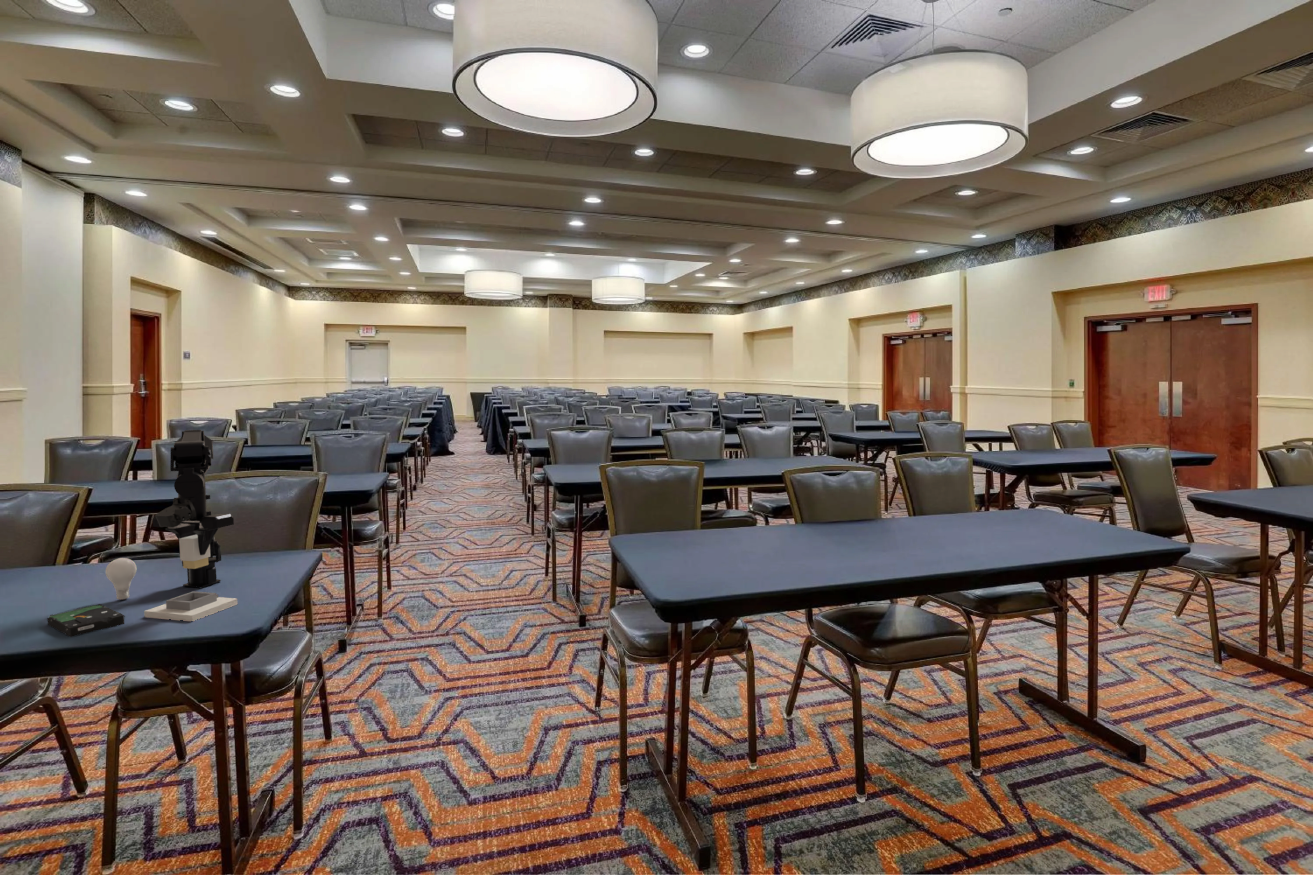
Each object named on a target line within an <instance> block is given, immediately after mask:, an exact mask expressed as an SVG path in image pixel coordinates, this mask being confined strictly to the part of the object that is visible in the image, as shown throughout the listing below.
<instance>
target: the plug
mask: <svg viewBox="0 0 1313 875" xmlns="http://www.w3.org/2000/svg"><path fill="white" fill-rule="evenodd" d="M178 542H179V559H180V560H179V561H181V562H182V561H183V566H182V568H183V569H187V568H189V569H196V568H199V567H203V566H206V565H209V563H208V557H211V556H210V545H209V547H208V549H207V551H206V553H205V555H200V552H199V545H198V535H192V536H188V537H184V538H179V540H178Z"/></svg>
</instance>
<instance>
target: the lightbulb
mask: <svg viewBox="0 0 1313 875" xmlns="http://www.w3.org/2000/svg"><path fill="white" fill-rule="evenodd" d="M137 567H138V566H137V565H136V563H135V562H134V560H132V559H130V558H127V557H119V558H116V559H114V560H112V561H111V562H109V563H108V564H107V565H106V567H105V576H106V579H108V580H109V581H110V582H111V583H112V585H113V587H114V590H115V593H116V598H115V599H116V600H119V601H125V600H127V599H129V598H130V586H131V585H132V584H131V583H132V580H133V579H134V577H136V574H137Z"/></svg>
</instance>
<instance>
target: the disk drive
mask: <svg viewBox="0 0 1313 875" xmlns="http://www.w3.org/2000/svg"><path fill="white" fill-rule="evenodd" d="M47 625H48V626H50V627H51V628H53V629H56V630H57V631H59V632H60V633H63V634H65V635H66V636H67V637H70V638H72V637H76V636H80V635H81V636H82V635H85V634H89V633H92V632H97V631H101V629H102V630H105V629H109V628H113V627H118V626H121V625H125V615H124V614H123V613H121V612H119V611H116V610H114V609H112V608H110V607H107V606H105V605H104V604H103V605H102V604H101V603H98V604H93V605H88V606H84V607H79V608H75V609H73V610H68V611H64V612H60V613H55V614H53V613H52V614H50V615H49V616H48V617H47ZM117 625H118V626H117Z"/></svg>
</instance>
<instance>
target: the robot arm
mask: <svg viewBox="0 0 1313 875" xmlns="http://www.w3.org/2000/svg"><path fill="white" fill-rule="evenodd" d="M213 444H214V443H213V439H211V438H210V437H208V436H207V435H205V431H204V430H202V429H186V430H182V431H181V437H180V438H179V439H177V440H176V441H175V442H174V443H173V446H171V447H170V461H169V462H170V472H178V473H177V475H176V479H175V481H174V484H173V487H174V490H175V492H176V494H177V497H174V498H173V499H172V505H170V506H168V507H165V508H164V509H163V510H161V511H159V512H157V513H156V514H155V516H154V517H153V518H152V527H154V528H164V527H165V531H167V532H168V531H169V532H171V533H172V534H173V535H175V536H176V538H177V539H178V541H179V538H184V537H188V536H192V535H198V545H199V552H200V555H205V553H206V551H207V549H208V547H209V545H210V556H211V557H208V563H209V565H206V566H203V567H199V568H196V569H189V568H186V572H187V583H184V584H182V587H187V588H189V587H190V588H199V589H200V588H205V587H207V586H211V585H214V584H217V583H220V582H221V581H222V580H221V579H218V578H217V567H216V563H219V562H220V561H222V549H221V544H219V542H218V540H215V535H216V533H217V532H218V529H220V528H225V527H228V526H229V527H230V526H233V525H234V524H235V521H234V515H232V514H231V513H216V514H215V513H214V514H212V511H211V510H208V509H207V506H208V505H207V501H208V500H211V494H206V493H207V491H206V489H207V488H206V486H207V485H206V473H207V472H208V471H209V469H210V467H212V460H214V445H213ZM181 564H182V565H181V566H182V567H183V561H181Z"/></svg>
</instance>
